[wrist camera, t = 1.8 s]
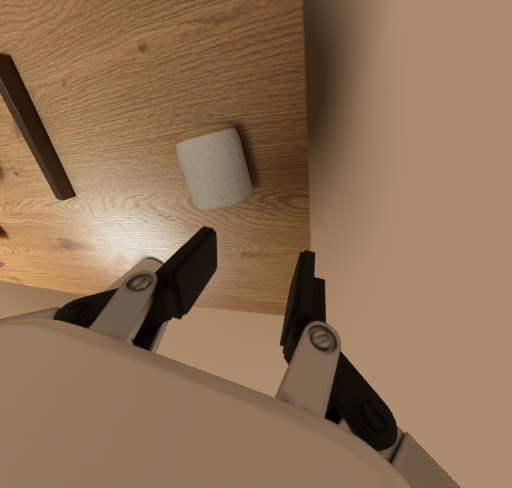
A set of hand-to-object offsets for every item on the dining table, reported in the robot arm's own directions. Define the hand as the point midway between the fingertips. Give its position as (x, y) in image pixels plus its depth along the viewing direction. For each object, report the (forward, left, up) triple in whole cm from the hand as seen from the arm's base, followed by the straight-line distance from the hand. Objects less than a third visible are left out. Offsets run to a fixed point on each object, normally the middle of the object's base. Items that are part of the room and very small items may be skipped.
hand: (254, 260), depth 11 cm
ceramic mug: (+8, -6, -18) cm, 20 cm away
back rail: (+34, -23, -17) cm, 45 cm away
